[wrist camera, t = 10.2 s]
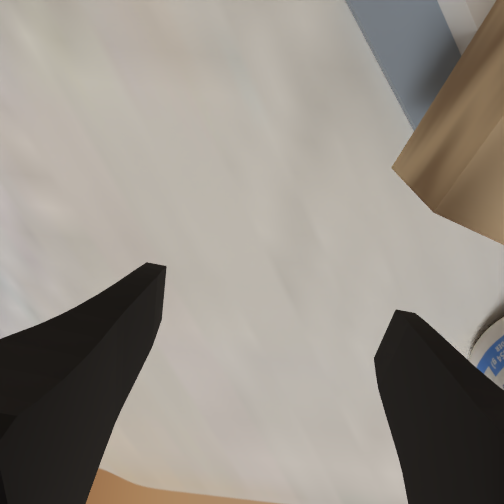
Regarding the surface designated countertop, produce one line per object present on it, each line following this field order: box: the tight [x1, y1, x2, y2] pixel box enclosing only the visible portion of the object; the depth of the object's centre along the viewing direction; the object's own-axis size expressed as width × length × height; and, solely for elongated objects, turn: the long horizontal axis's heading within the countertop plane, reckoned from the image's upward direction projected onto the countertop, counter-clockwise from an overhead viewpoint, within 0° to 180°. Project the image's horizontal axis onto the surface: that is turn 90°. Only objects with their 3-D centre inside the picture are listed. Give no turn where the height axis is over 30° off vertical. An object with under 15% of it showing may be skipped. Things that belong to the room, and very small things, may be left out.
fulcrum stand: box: [345, 0, 496, 131], centre depth 15 cm, size 10×8×3 cm
